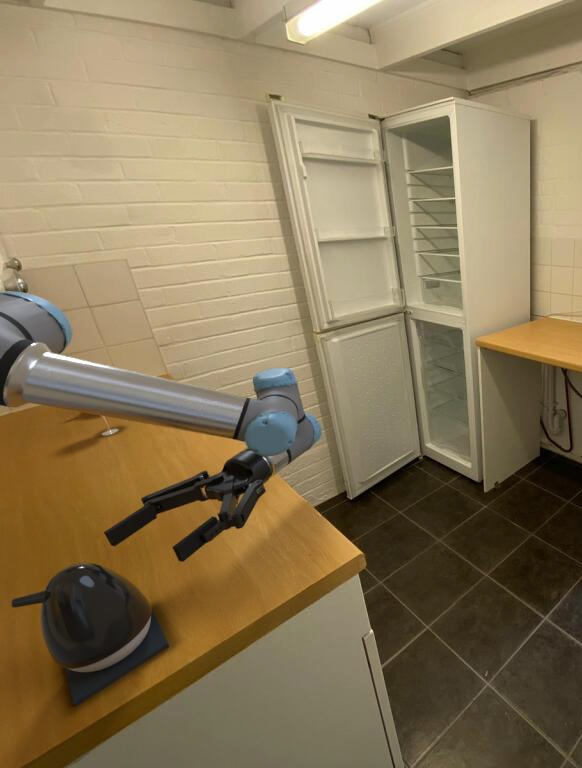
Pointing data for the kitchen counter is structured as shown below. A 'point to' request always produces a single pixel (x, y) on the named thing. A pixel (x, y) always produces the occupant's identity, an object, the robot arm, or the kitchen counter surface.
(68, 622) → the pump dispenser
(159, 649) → the mat
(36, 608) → the kitchen counter surface
